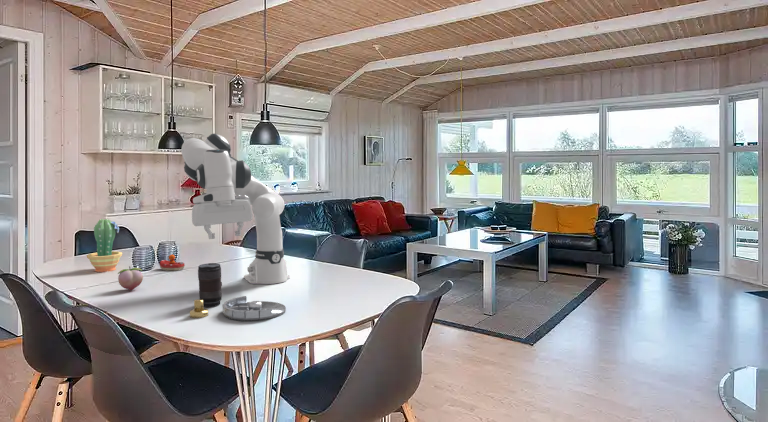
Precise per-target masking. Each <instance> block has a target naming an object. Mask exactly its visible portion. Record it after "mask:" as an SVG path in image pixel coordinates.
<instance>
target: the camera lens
mask: <svg viewBox="0 0 768 422" xmlns="http://www.w3.org/2000/svg"><path fill="white" fill-rule="evenodd" d="M197 275H198V276H197V278H198V279H197V280H198V292H199V293H198V296H199V299H203V307H204V308H214V307H219V306H220V305H221V301H222V296H223V291H222V287H223V283H222V265H221V263H218V262H217V263H216V262H211V263H202V264H199V265H198V269H197Z"/></svg>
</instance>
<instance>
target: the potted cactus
mask: <svg viewBox="0 0 768 422" xmlns="http://www.w3.org/2000/svg"><path fill="white" fill-rule="evenodd" d="M119 232H120V227H119V226H118V223H116V221H113V220H111V219H108V218H105V219H103V218H101V219H99V220H98V221H97V222H96V224H94V227H93V235H94V238H95V239H94V240H95V242H96V252H93V253H88V254H87V255H86V258H87V259H88V260H89V262H90V264H91V265H92V267H94V272H98V273H106V272H112V271H116V268H117V265H118V264H119V262H120V259H121V257H122V256H123V252H122V251H115V250H114V251H113V245H114V244H113V243H114V241H115V237H116V234H119Z"/></svg>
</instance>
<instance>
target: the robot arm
mask: <svg viewBox="0 0 768 422" xmlns="http://www.w3.org/2000/svg"><path fill="white" fill-rule="evenodd" d="M231 150H232V149H231V144H229V141H228V140H227V138H226V137H225V136H223V135H221V134H217V133H211V134H210V135H208V136H207V137H206V139H204V140H202V139H201V138H200V139H199V138H197V137H190V138H188V139H186V140H184V141H183V143H182V145H181V156H182V159H183V161H184V162H183V163H184V166H183V169H184V173H185V174H186V175H187V177H188V178H189V179H191V180H192V181H195V182H196V183H197V185H198V186H199V187H201V188H202V189H203V190H206V192H205V193H202V194H200V195H197V196H195V197H193V199H192V202H193V204H194V205H193V206H192V208H191V222H192V225H193V226H195V227H203V229H204V231H205V232H206V234H207V236H208V239H209V240H213V239H216V236H215V235H216V234H215V232H212V231H211V229H212V227H211V226H212V225H222V224H223V225H224V224H233V223H236V226H238V227H237V229H236V230H235V231H234V233H235V234H234V235H235V237H238V236H242V230H243V227H244V226H245V225H244V223H245V222H251V221H252V220H253V218H254V225H255V229H256V250H255V258H254V259H253V260H252V262H250V263H249V265H248V266H247V274H244V275H243V278H244V279H245V280H246V281H247V282H249V284H255V285H257V284H258V285H259V284H260V285H261V284H262V285H270V284H271V285H273V284H280V283H285V282H287V281H288V279H290V278H291V276H290V275H288V267H287V261H286V260H285V259H284V257H285V255H284V254H285V251H284V247H283V230H282V225H281V217H280V215H281V214H283V211H284V209H285V200H284V198H283V197H282V196H281V195H280V194H279V193H277V192H276V191H274V190H273V189H272V188H270V187H269V186H267V185H266V184H264V183H262V182H261V181H259V180H258V179H257V178H256V177H254V176H253V175H252V171H251V167H250V166H249V164H248V163H246V162H245V161H244V160H238V159H237V158H235V157H233V156H232V154H231Z"/></svg>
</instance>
